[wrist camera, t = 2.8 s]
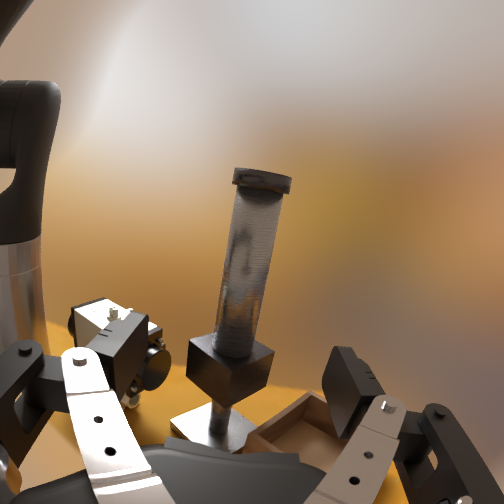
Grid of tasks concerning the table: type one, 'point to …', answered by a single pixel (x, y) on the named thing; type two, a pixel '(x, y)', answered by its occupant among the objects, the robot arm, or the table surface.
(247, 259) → the strut
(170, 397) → the table surface
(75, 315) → the pneumatic rotary actuator
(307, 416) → the bin
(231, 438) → the stud mount
